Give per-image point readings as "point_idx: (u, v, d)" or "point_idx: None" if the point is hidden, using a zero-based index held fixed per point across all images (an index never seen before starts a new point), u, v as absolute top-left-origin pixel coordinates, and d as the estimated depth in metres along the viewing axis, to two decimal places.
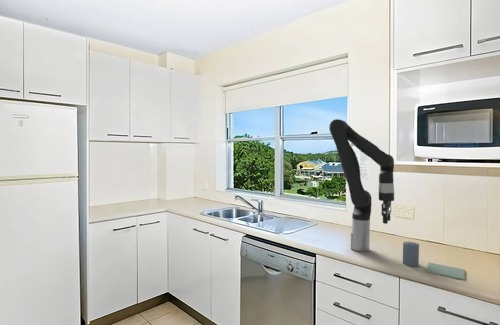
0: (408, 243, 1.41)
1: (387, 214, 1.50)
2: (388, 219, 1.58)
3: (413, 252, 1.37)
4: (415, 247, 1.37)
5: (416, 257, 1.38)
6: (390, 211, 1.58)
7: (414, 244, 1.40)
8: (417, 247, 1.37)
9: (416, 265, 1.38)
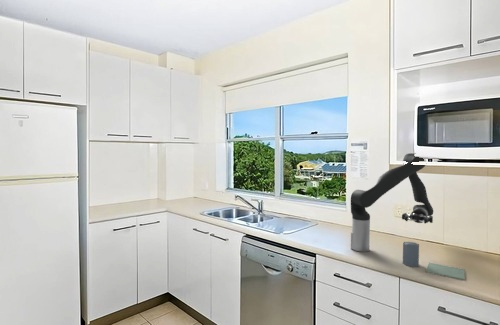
0: (408, 243, 1.41)
1: None
2: (407, 219, 1.54)
3: (413, 252, 1.37)
4: (415, 247, 1.37)
5: (416, 257, 1.38)
6: None
7: (414, 244, 1.40)
8: (417, 247, 1.37)
9: (416, 265, 1.38)
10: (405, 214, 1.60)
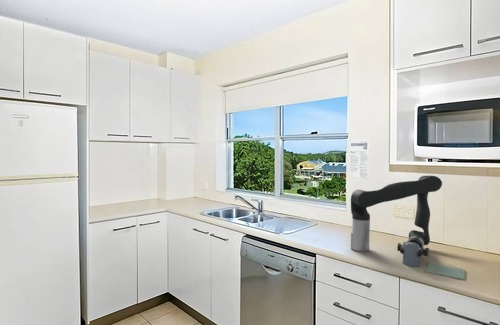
0: (408, 243, 1.41)
1: None
2: None
3: (413, 252, 1.37)
4: (415, 247, 1.37)
5: (416, 257, 1.37)
6: None
7: (414, 244, 1.40)
8: (417, 247, 1.37)
9: (416, 265, 1.38)
10: (400, 245, 1.48)
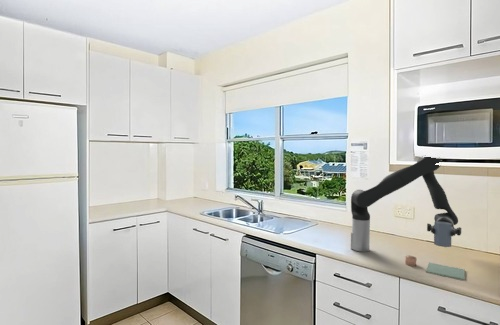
0: (440, 222, 1.33)
1: None
2: None
3: (446, 231, 1.30)
4: (448, 226, 1.30)
5: (449, 237, 1.30)
6: None
7: (446, 223, 1.32)
8: (450, 226, 1.30)
9: (449, 245, 1.30)
10: (430, 225, 1.40)
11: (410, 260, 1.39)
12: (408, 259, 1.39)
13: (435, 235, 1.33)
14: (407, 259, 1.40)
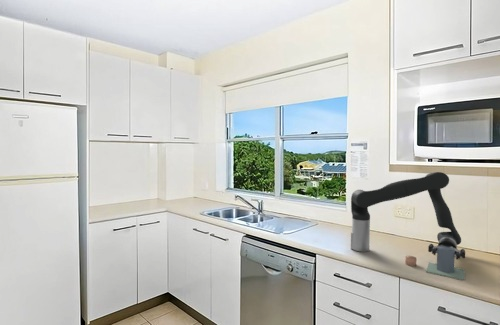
0: (443, 247, 1.33)
1: None
2: (435, 253, 1.34)
3: (449, 257, 1.29)
4: (451, 252, 1.29)
5: (452, 263, 1.29)
6: None
7: (449, 249, 1.31)
8: (453, 252, 1.29)
9: (452, 271, 1.29)
10: (432, 245, 1.40)
11: (410, 260, 1.39)
12: (408, 259, 1.39)
13: (438, 260, 1.32)
14: (407, 259, 1.40)
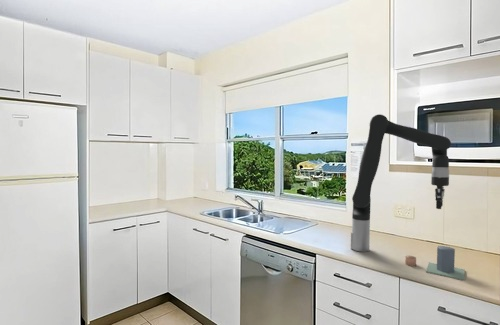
0: (443, 247, 1.33)
1: (441, 199, 1.44)
2: None
3: (449, 257, 1.29)
4: (451, 252, 1.29)
5: (452, 263, 1.29)
6: (442, 197, 1.52)
7: (449, 249, 1.31)
8: (453, 252, 1.29)
9: (452, 271, 1.29)
10: None
11: (410, 260, 1.39)
12: (408, 259, 1.39)
13: (438, 260, 1.32)
14: (407, 259, 1.40)
